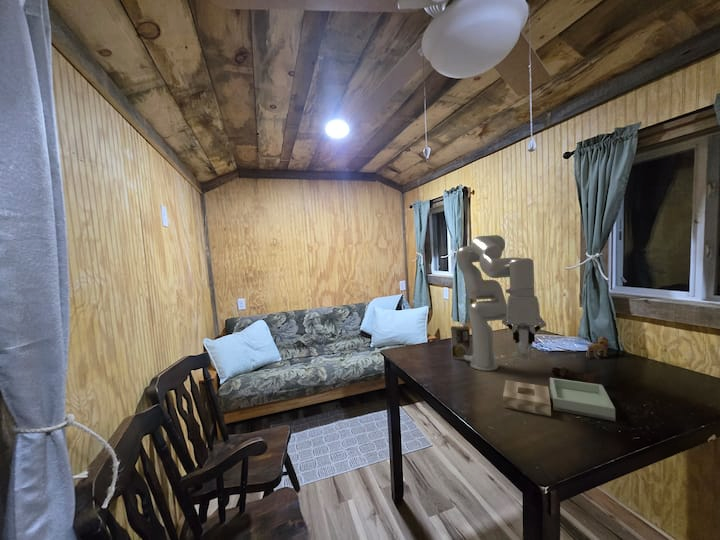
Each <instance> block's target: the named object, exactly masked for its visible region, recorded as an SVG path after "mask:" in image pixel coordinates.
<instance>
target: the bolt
mask: <svg viewBox="0 0 720 540" xmlns="http://www.w3.org/2000/svg"><path fill="white" fill-rule="evenodd" d="M551 373H552V374H553V375H554V376H559V377H560V379H564V380H570V379H571V380H573V381H578V382H585V383H593V384H599V378H598V377H599V376H598V374H597V373H596V372H590V373H589V374H587V373H583V372H582V373H581V372H577V371H573V370H570V369H569V368H568V367H566V366H565V367H561V368H560V367H556V366H555V367H551Z"/></svg>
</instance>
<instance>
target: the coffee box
mask: <svg viewBox="0 0 720 540" xmlns="http://www.w3.org/2000/svg"><path fill="white" fill-rule="evenodd" d="M450 334H451V350H452V359H453V360H465V359H464V355H468V356H471V355H472V354H471V343H470V327H469V326H466V325H465V326H460V325H459V326H458V325H457V326H456V325H455V326H453V325H452V326H451V327H450Z"/></svg>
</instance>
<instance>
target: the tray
mask: <svg viewBox="0 0 720 540" xmlns="http://www.w3.org/2000/svg"><path fill="white" fill-rule="evenodd" d="M549 390H550V394H551V400H552V408H553V410H554V411H559V412H563V413H568V414H569V413H570V414H575V415H580V416H586V417H590V418H591V417H592V418H594V419H600V420H607V421H613V422H616V407H615V406H614V404H613V402H612V401H611V399H610V397H609V395H608V393H607V391H606V389H605V387H604V386H603V384H601V383H600V384H599V383H598V384H593V383H585V382H581V381H577V380H572V379H571V380H570V379H562V378H555V377H549Z"/></svg>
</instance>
